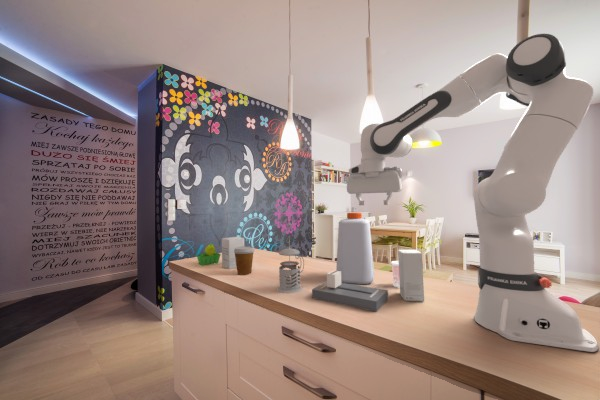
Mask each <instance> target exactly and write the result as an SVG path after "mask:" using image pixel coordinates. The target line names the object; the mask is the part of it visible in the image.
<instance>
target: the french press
mask: <svg viewBox="0 0 600 400" xmlns="http://www.w3.org/2000/svg"><path fill="white" fill-rule="evenodd" d="M290 226H291V227H292V223H291V222H287V223H286V227H290ZM290 239H291V238H290V237H288V248H284V249H282V250H280V251H279V252H278V254H279V255H280V256H284V257H285V256H286V257H289V260H288V261H281V262H280V263H279V264H280V266H279V271H278V273H279V286H278V287H277V288H276V291H278V293H282V294H295V293H301V291H303V289H304V288H303V287H302V286H301V273H303V271H304V268H305V259H304V257H303V256H302V255H301V252H300V251H299V250H298V249H296V248H291V247H290V246H291V245H290V243H291V242H290ZM291 256H295V259H297V260H298V259H299V261H303V265H300V266H299V264H300V263H299V262H298V261H291V258H290V257H291ZM301 258H302V259H301ZM302 266H303V267H302ZM301 268H302V270H301Z"/></svg>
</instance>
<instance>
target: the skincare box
mask: <svg viewBox="0 0 600 400" xmlns="http://www.w3.org/2000/svg"><path fill="white" fill-rule="evenodd" d="M397 255H398V258H397V259H398V261H399V280H400V288H399V294H400V295H401V298H402V299H403V301H405V302H425V289H424V287H425V286H424V269H423V253H422V252H421V251H419V250H417V249H400V250H399V249H397Z"/></svg>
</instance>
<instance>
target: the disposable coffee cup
mask: <svg viewBox="0 0 600 400" xmlns="http://www.w3.org/2000/svg"><path fill="white" fill-rule="evenodd" d="M254 252H255V249H254V246H251V245H250V246H249V245H244V246H241V247H236V248H235V249H234V253H235V259H236V266H237V268H236V274H237V275H239V276H247V275H250V274H252V270H253V262H254V261H253V258H254Z"/></svg>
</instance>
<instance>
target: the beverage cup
mask: <svg viewBox="0 0 600 400" xmlns="http://www.w3.org/2000/svg"><path fill="white" fill-rule="evenodd" d="M398 250H401V249H399V248H398ZM390 265H391V268H392V270H391V271H392V283H393V286H394V287H395V288H398V289H400V280H399V260H392V261H391V262H390Z"/></svg>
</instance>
